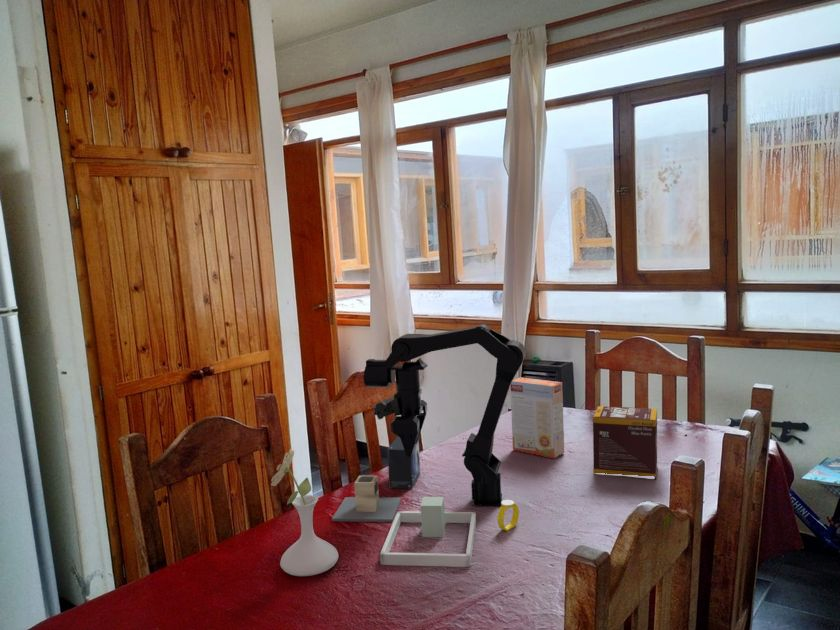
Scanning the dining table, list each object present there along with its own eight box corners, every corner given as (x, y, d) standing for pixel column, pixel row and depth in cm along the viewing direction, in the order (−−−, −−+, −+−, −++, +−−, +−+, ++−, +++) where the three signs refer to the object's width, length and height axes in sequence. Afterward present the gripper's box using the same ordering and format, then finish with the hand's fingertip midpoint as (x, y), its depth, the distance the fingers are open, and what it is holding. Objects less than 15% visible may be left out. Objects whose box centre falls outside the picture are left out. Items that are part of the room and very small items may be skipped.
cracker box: (565, 453, 183) (563, 381, 181) (554, 459, 179) (552, 386, 176) (523, 444, 193) (521, 375, 190) (512, 450, 188) (509, 380, 186)
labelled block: (360, 503, 155) (358, 475, 154) (379, 503, 154) (378, 475, 153) (356, 511, 151) (354, 482, 150) (375, 512, 150) (373, 482, 149)
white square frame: (476, 521, 144) (475, 512, 143) (470, 566, 124) (469, 556, 124) (398, 520, 146) (397, 511, 146) (380, 564, 127) (379, 554, 127)
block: (445, 527, 142) (443, 497, 141) (443, 537, 137) (441, 505, 136) (425, 527, 142) (423, 496, 141) (422, 536, 138) (420, 505, 137)
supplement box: (656, 480, 161) (656, 419, 159) (593, 474, 167) (592, 416, 165) (658, 465, 171) (657, 408, 169) (597, 461, 176) (596, 405, 174)
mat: (401, 499, 157) (401, 497, 157) (392, 521, 146) (392, 519, 146) (345, 499, 160) (345, 497, 159) (332, 521, 148) (331, 518, 148)
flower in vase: (306, 548, 136) (297, 432, 132) (350, 559, 130) (342, 439, 127) (262, 578, 124) (251, 453, 121) (308, 592, 119) (297, 461, 115)
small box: (413, 489, 164) (411, 449, 162) (388, 488, 165) (386, 449, 164) (421, 473, 174) (419, 436, 173) (398, 473, 175) (395, 435, 174)
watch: (506, 536, 137) (504, 510, 136) (495, 532, 139) (493, 506, 138) (522, 523, 141) (520, 498, 140) (511, 520, 143) (509, 495, 142)
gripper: (382, 379, 166) (386, 438, 168) (366, 398, 147) (371, 463, 149) (425, 378, 164) (429, 437, 166) (415, 397, 146) (419, 463, 148)
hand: (411, 449), depth 157 cm, fingers open, 9 cm apart
